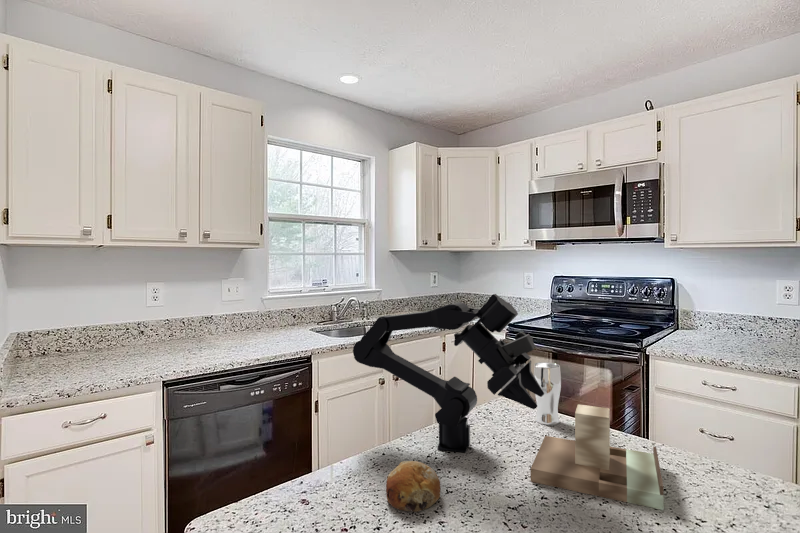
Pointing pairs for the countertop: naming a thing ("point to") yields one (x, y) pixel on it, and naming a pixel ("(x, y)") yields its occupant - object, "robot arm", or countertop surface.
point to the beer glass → (548, 392)
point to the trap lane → (601, 473)
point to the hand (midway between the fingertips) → (539, 401)
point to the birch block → (592, 436)
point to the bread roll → (412, 486)
